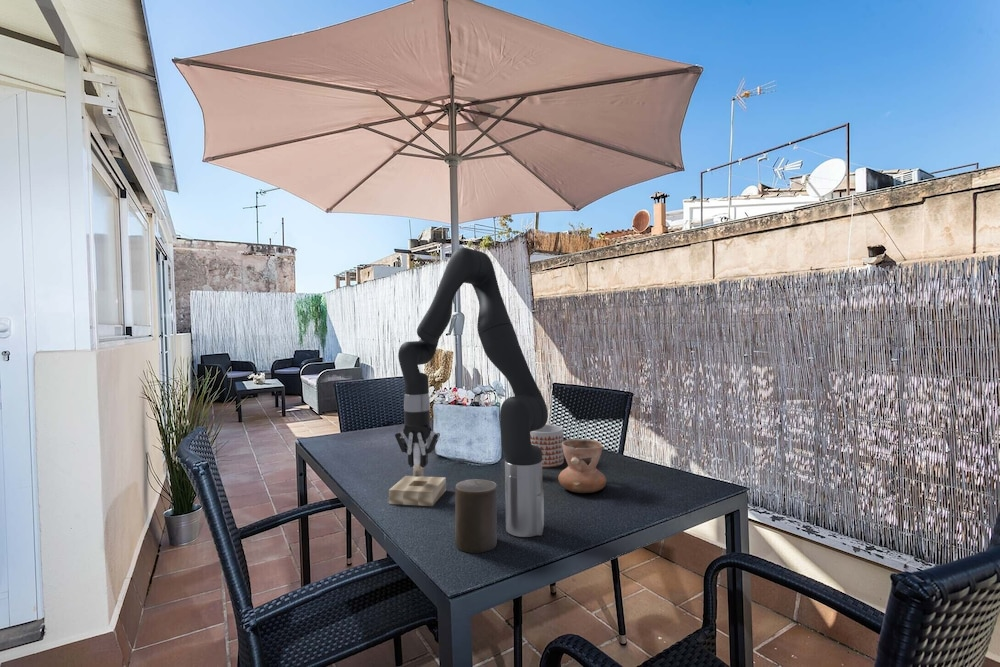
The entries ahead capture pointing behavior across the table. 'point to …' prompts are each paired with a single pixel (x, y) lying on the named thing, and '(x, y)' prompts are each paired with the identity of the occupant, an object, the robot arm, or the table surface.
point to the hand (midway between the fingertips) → (418, 466)
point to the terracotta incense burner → (582, 466)
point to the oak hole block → (417, 490)
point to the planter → (549, 444)
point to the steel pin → (417, 460)
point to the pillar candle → (476, 515)
